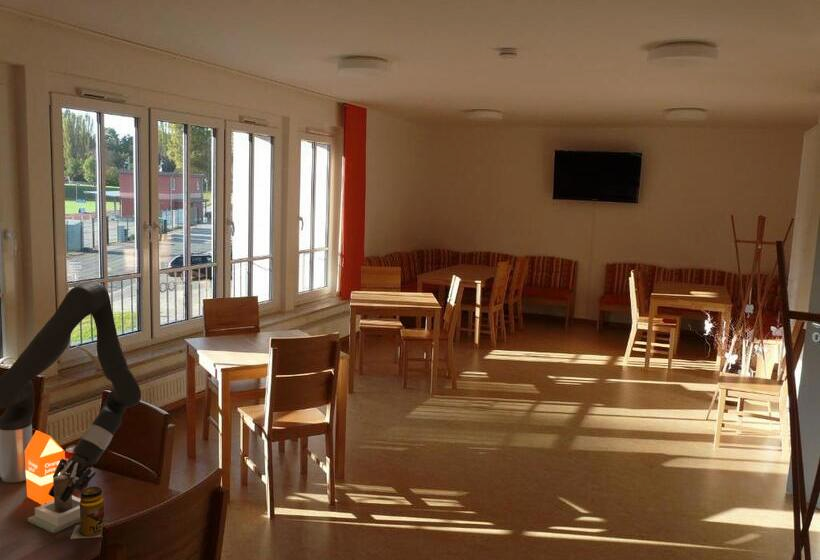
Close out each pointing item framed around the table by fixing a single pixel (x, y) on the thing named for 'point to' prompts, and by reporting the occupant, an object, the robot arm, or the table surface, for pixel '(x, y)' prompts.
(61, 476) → the roller
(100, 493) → the condiment
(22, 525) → the table surface
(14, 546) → the table surface
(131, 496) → the table surface
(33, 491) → the orange juice
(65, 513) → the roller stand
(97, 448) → the robot arm
